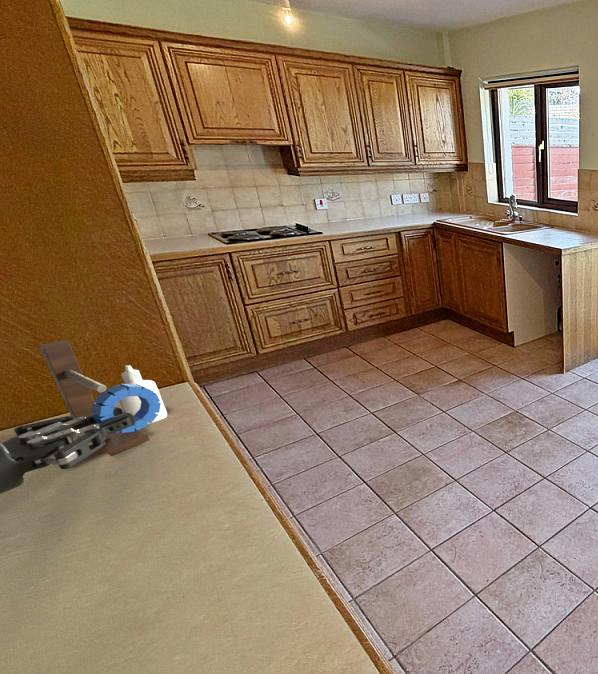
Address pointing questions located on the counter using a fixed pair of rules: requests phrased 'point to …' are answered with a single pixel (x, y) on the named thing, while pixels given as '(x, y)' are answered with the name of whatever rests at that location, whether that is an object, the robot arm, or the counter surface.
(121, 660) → the counter surface
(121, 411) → the robot arm
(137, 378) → the eye dropper bottle
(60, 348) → the hook stand
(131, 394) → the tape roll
